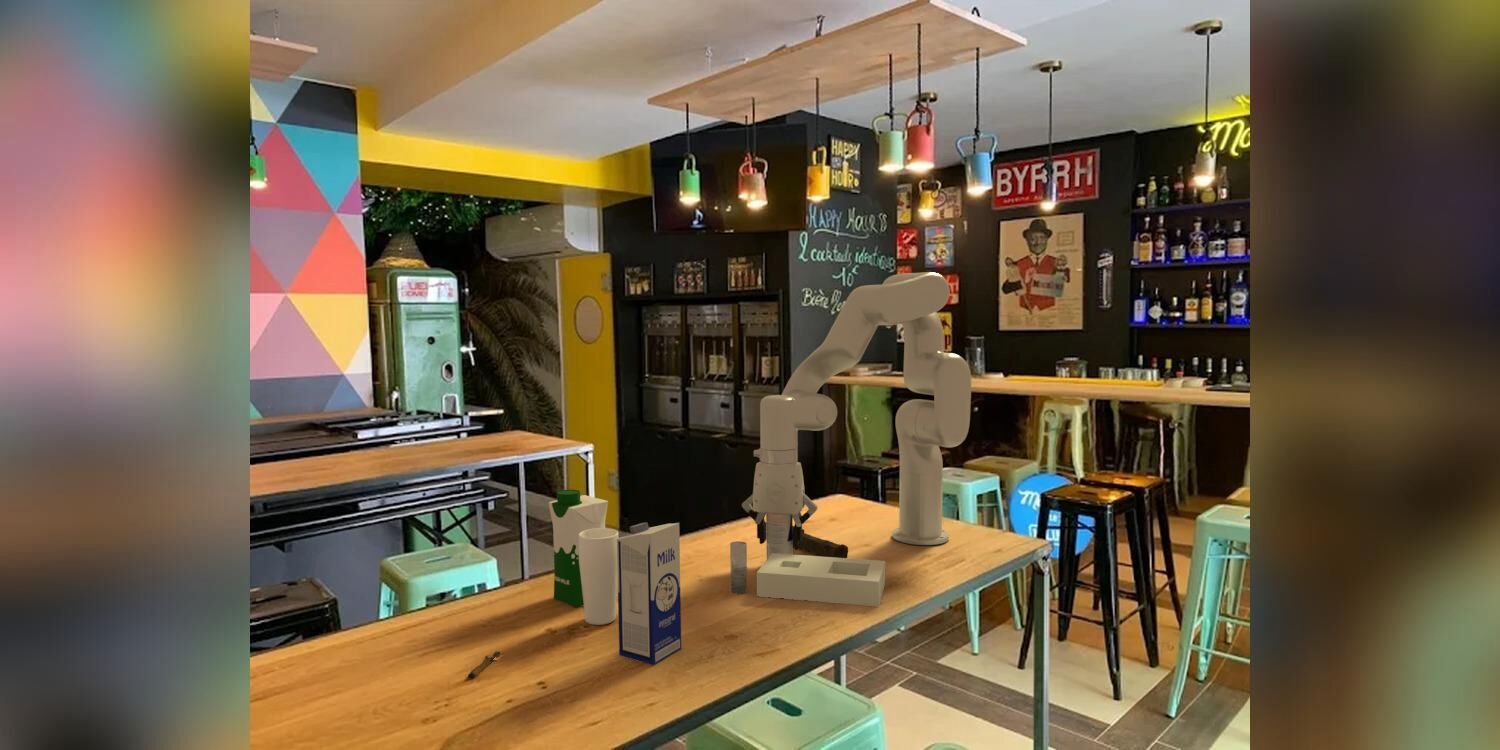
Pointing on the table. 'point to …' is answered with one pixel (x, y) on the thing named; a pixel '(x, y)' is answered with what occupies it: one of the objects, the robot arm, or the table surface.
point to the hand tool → (822, 546)
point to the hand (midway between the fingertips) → (779, 542)
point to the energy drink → (779, 533)
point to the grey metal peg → (738, 567)
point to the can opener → (482, 666)
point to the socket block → (822, 579)
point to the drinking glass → (598, 574)
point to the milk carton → (649, 592)
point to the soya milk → (572, 540)
